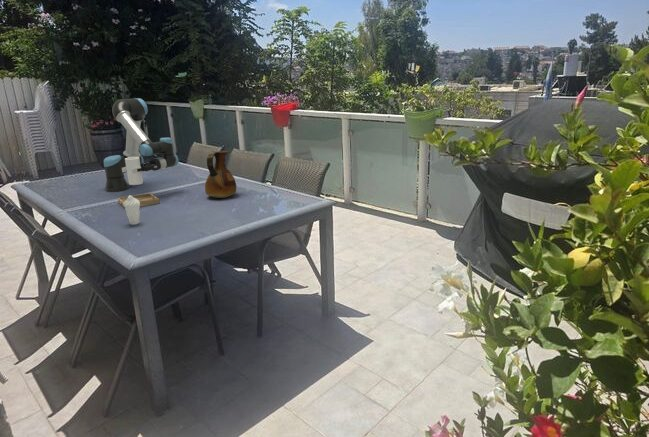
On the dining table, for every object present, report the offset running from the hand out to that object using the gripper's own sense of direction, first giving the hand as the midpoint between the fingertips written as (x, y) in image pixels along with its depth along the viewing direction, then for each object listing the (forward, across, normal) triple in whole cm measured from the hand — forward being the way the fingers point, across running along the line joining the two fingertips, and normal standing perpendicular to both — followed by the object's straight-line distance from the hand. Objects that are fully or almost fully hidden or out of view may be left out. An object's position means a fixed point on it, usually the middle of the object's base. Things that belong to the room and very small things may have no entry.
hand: (127, 170), depth 276 cm
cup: (-5, 0, -9) cm, 10 cm away
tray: (-5, 0, -22) cm, 22 cm away
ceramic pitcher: (-39, -37, -22) cm, 59 cm away
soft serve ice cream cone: (+24, -33, -22) cm, 47 cm away
